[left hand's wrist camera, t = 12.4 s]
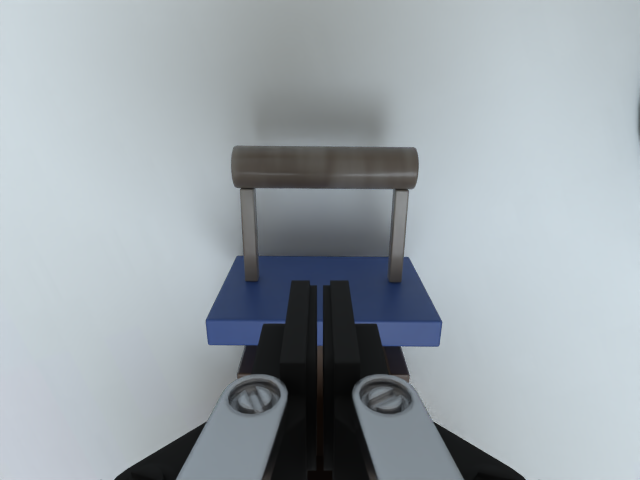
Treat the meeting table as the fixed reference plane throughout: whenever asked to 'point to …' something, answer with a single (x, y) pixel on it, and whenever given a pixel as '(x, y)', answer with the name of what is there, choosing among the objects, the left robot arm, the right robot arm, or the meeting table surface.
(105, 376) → the meeting table surface
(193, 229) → the meeting table surface
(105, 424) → the meeting table surface
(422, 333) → the drawer
